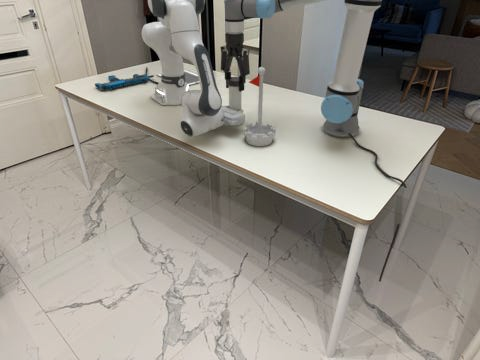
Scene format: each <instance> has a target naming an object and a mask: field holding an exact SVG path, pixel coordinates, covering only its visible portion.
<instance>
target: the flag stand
mask: <svg viewBox="0 0 480 360" xmlns="http://www.w3.org/2000/svg"><path fill="white" fill-rule="evenodd" d="M257 74H258V75H257V76H256V77H254V78H252V79H251V80H250V81H248V84H252V85H253V86H256V87H258V104H257V105H258V108H257V109H258V112H257V121H256V122H255V124H253V123H252V122H249V123H246V124H245V125H246V126H244V127H243V135H244V137H245V141H246V143H248V145H252V146H256V147H263V146H268V145H270V144H272V143H273V138H274V137H275V136H276V127H275V126H273V124H272V123H269V122H267V123H266V124H263V101H264V100H263V95H264V75H265V74H266V68H265V67H263V66H260V67H258V68H257Z"/></svg>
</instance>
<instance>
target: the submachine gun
mask: <svg viewBox="0 0 480 360" xmlns="http://www.w3.org/2000/svg"><path fill="white" fill-rule="evenodd" d="M107 77H108V80H109V82H103V83H100V82H96V83H94V86H95V88H97V89H98V90H100V91H107V90H113V91H114V90H115V89H116V88H120V87H125V86H129V85H134V84H138V83H139V84H140V83H145V82H146V83H147V81H150V80H149V78H150V79H151V78H154V77H155V76H154V74H151V75H148V74H147V75H145V73H144V74H138V73H134V74H133V75H132V77H129V78H121V79H120V78H118V77H117V76H116V75H113V74H112V75H108V76H107Z"/></svg>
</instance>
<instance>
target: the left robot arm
mask: <svg viewBox="0 0 480 360" xmlns="http://www.w3.org/2000/svg"><path fill="white" fill-rule="evenodd" d="M205 4H206V0H147V5H148V8H149V11H150V12H151V14H152V15H153V16H154V17H157V18H158V21H152V22H149V23H146V24H144V25H143V27H142V28H141V38H142V41H143V42H144V44H145V45H146V46H148V47H149V48H151V50H153V51H154V52H155V53H156V55H157V56H158V58H159V62H160V66H161V72H162V73H160V74H161V75H162V76H159V78H161V79H160V82H158V81H155V80H153V79H151V78H149V80H148V81H150V82H152V83H154V84H157V85H155V87H154V94H152V95H151V96H150V97H151V99H152V100H154V101H155V102H157V103H158V104H160V105H161V106H180V105H181V108H182V117H181V120H180V123H179V124H180V128H181V130H182V132H183V133H184V134H185V135H187V136H188V137H197V136H200V135H204V134H206V133H208V132H209V131H213V130H215V129H218V128H221V127H222V126H223V125H224V123H225V124H227V125H229V126H234V125H237V124H240V123H241V124H243V123H245V121H246V114H245V112H244V109H242V108H241V109H239V110H238V111H236V110H233V109H230V108H229V104H228V105H223V100H222V95H221V92H220V91H219V89H218V85H217V82H216V78H215V74H214V73H215V72H214V70H213V69H214V68H213V66H212V65H213V64H212V60H211V58H210V54H209V51H208V49H207V48H206V46H205V45H204V43H203V40H202V36H201V30H200V24H199V19H198V15H200V14H202V13H203V12H204V10H205ZM170 47H173V49H174V51H175V52H174V51H172V50H170ZM183 58H184V59H186V60H188V61H189V62H190V63H192V64H193V66H194V67H195V69H196V74H197V75H198V78H199V82H200V83H199V86H200V89H192V90H191V89H190V90H189V87H190V85H189V86H187V83H186V82H185V81H186V76H185V73H184V70H185V66H184V59H183ZM144 74H145V75H147V76H148V67H145V73H144ZM241 124H240V125H241ZM237 126H238V125H237Z"/></svg>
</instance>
